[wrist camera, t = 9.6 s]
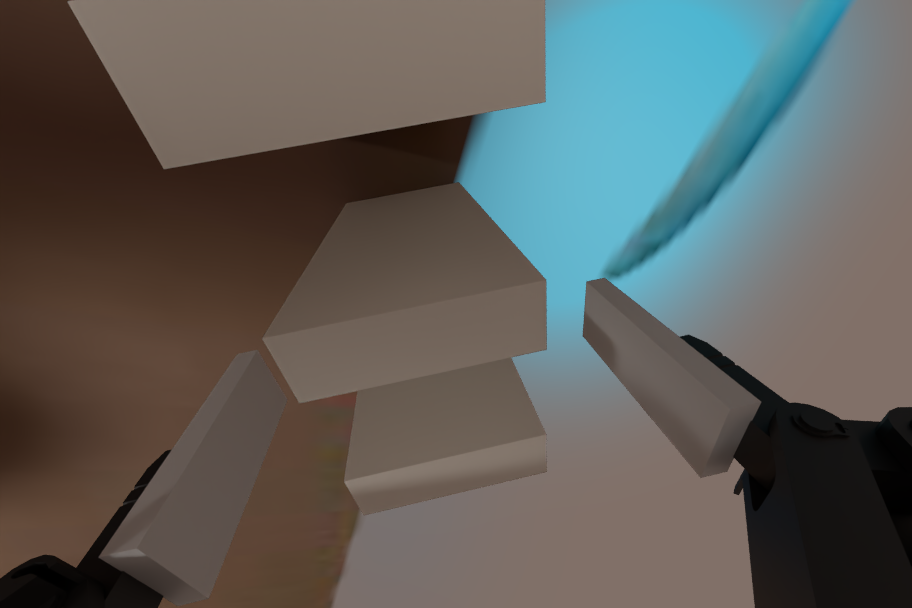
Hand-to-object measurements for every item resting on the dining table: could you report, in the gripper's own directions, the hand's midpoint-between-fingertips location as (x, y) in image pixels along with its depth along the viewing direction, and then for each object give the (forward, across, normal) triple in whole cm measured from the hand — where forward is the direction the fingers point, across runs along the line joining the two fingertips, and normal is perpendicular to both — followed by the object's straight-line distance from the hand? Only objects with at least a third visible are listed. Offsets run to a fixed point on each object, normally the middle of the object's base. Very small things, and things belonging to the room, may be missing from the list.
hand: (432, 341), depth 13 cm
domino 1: (+4, 0, +9) cm, 10 cm away
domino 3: (+4, 0, 0) cm, 4 cm away
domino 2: (+4, 0, +4) cm, 6 cm away
